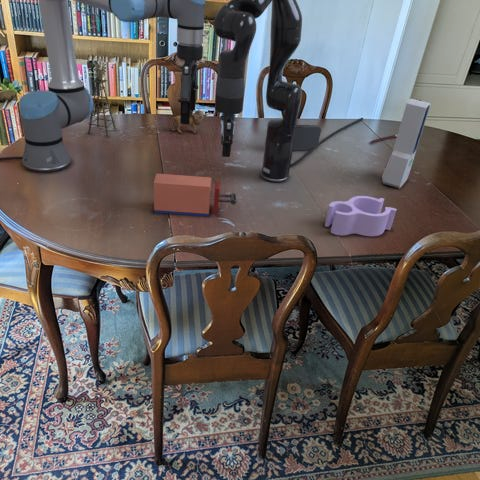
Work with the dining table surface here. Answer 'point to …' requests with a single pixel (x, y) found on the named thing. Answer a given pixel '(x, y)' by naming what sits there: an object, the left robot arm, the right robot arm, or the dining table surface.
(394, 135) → the sword
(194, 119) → the lion figurine
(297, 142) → the handheld gaming console
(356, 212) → the clip
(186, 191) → the cabinet
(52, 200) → the dining table surface
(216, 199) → the drawer
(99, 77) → the miniature windmill
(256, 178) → the dining table surface
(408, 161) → the electronic device
